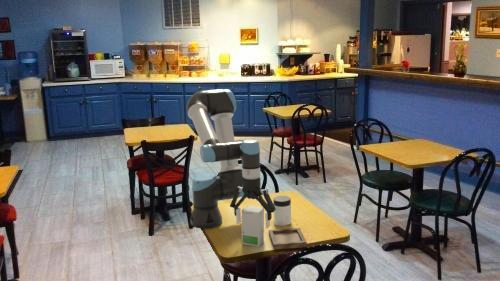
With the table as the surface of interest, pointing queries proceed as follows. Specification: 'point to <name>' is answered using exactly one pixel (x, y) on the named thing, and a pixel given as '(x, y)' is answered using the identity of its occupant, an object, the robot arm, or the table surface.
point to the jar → (282, 210)
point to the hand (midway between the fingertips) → (253, 224)
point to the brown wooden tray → (287, 238)
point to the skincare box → (252, 225)
